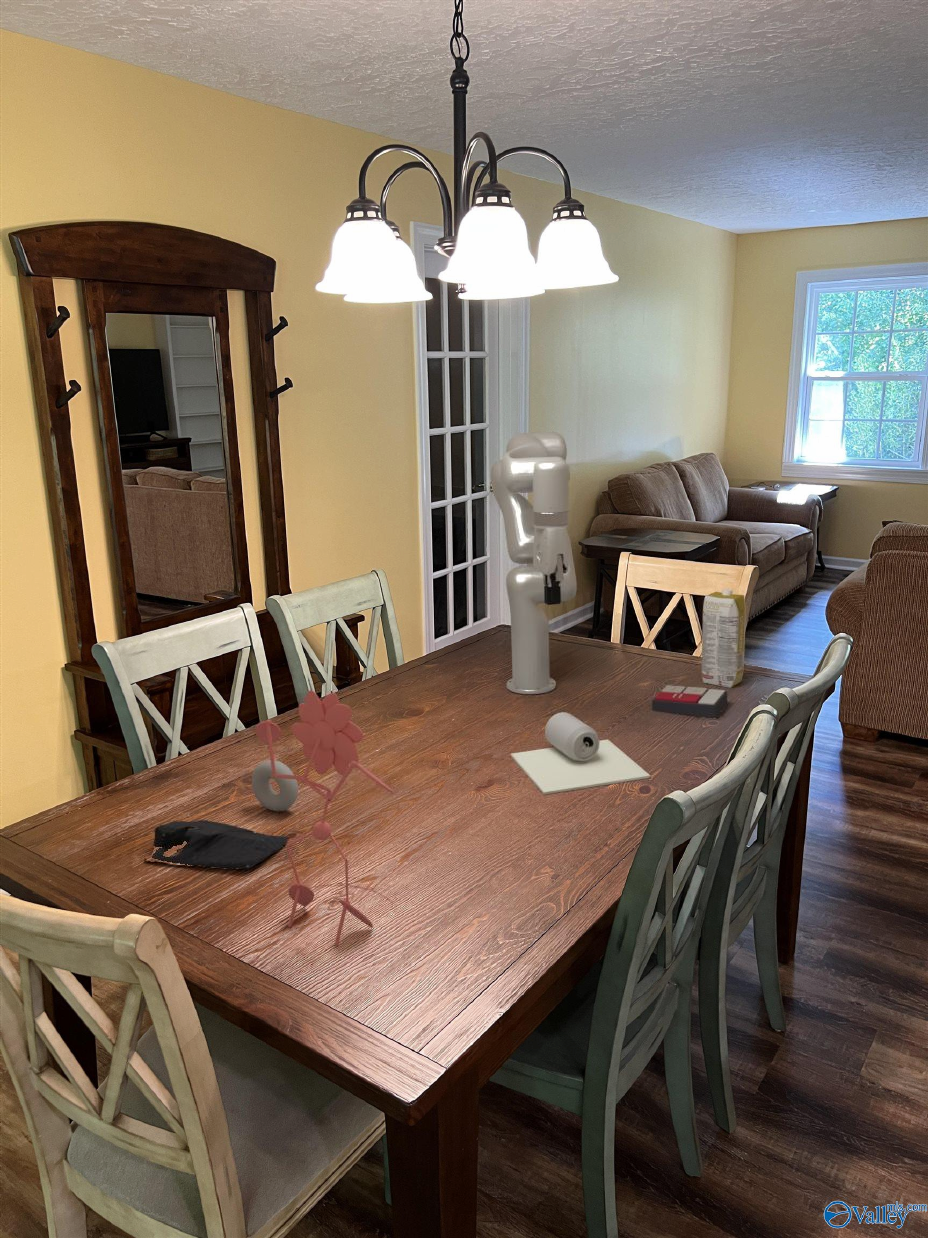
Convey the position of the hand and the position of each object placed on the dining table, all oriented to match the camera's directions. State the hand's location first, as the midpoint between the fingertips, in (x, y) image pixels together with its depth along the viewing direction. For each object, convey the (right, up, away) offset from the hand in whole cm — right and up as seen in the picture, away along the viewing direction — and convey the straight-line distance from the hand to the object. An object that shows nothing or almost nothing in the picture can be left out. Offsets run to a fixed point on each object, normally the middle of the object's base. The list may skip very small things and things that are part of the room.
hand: (552, 603), depth 198 cm
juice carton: (+46, -20, +34) cm, 61 cm away
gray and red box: (+34, -25, +17) cm, 46 cm away
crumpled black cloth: (-62, -44, -41) cm, 86 cm away
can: (+1, -26, -3) cm, 27 cm away
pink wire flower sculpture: (-37, -47, -62) cm, 86 cm away
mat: (+4, -33, -13) cm, 36 cm away
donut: (-54, -39, -27) cm, 72 cm away
